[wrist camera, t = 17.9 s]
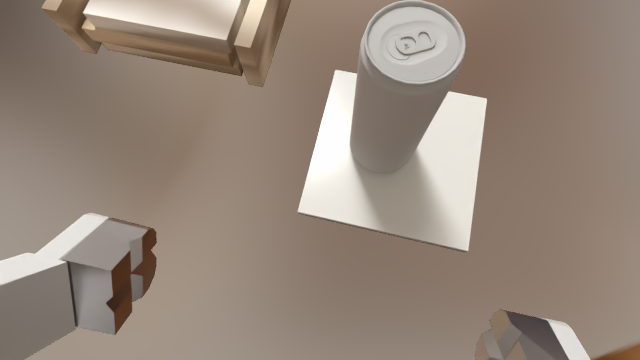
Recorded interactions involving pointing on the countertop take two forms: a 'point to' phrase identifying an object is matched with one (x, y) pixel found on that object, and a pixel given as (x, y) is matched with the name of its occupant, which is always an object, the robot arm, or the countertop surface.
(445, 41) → the beverage can
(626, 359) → the countertop surface
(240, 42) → the birch rack
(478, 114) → the ceramic tile
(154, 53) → the light wood bar
